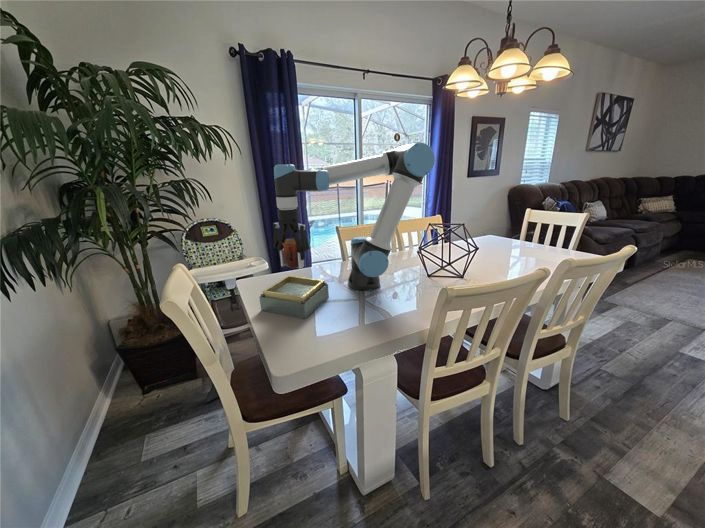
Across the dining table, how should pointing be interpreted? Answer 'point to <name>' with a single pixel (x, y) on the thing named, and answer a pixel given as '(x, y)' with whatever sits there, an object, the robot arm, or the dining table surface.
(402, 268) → the dining table surface
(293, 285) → the yellow rimmed grey box
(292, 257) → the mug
